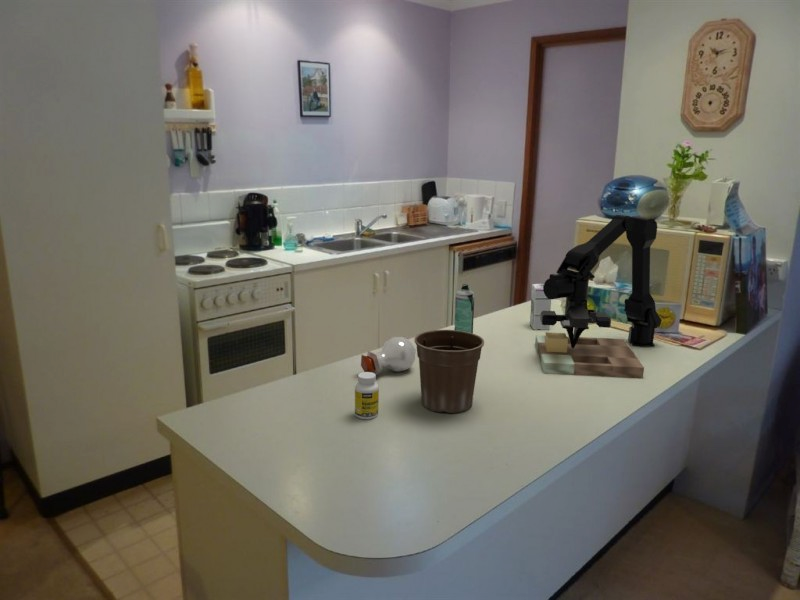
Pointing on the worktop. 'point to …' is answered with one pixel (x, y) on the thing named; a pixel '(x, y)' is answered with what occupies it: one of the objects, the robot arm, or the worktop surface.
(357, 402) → the supplement bottle
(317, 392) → the worktop surface
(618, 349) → the trap board
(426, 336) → the plant pot
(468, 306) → the spray can
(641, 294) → the robot arm
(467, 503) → the worktop surface
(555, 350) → the ochre block
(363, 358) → the potion bottle
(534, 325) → the syrup box
